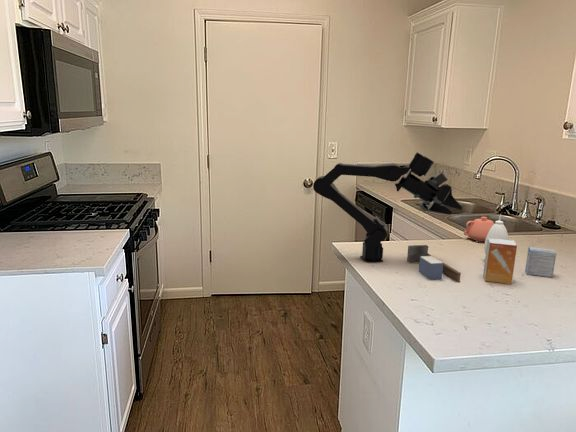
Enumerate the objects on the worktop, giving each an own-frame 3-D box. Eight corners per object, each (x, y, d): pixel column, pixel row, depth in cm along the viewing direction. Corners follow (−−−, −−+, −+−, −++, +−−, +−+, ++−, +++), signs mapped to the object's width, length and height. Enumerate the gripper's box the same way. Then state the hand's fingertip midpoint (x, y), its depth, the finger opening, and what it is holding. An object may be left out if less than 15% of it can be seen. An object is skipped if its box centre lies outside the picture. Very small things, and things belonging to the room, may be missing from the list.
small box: (484, 281, 150) (489, 242, 147) (482, 275, 156) (487, 237, 153) (512, 284, 147) (517, 245, 144) (509, 278, 153) (514, 240, 150)
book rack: (438, 283, 147) (439, 265, 146) (406, 261, 168) (408, 245, 167) (459, 281, 149) (461, 264, 147) (426, 260, 170) (427, 244, 168)
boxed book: (430, 280, 150) (431, 263, 149) (418, 272, 157) (419, 256, 156) (441, 279, 151) (443, 262, 149) (429, 271, 158) (431, 255, 157)
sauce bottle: (509, 262, 170) (515, 214, 166) (501, 267, 164) (508, 217, 161) (487, 257, 175) (493, 210, 171) (479, 262, 170) (485, 213, 166)
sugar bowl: (502, 244, 194) (505, 220, 192) (468, 243, 194) (471, 219, 192) (490, 236, 206) (492, 214, 204) (458, 236, 206) (460, 213, 204)
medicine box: (550, 273, 159) (554, 249, 157) (553, 277, 155) (556, 252, 153) (524, 270, 161) (528, 246, 159) (526, 274, 157) (530, 250, 155)
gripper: (438, 160, 153) (479, 186, 152) (420, 174, 171) (456, 197, 170) (421, 188, 151) (462, 214, 150) (405, 199, 170) (442, 222, 169)
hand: (456, 211), depth 160 cm, fingers open, 9 cm apart
